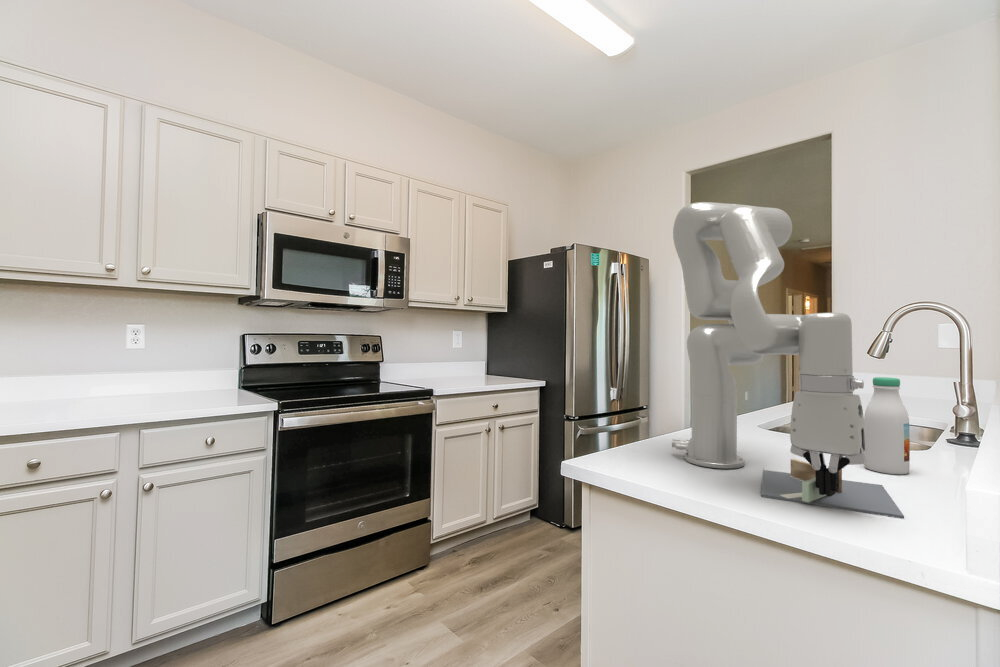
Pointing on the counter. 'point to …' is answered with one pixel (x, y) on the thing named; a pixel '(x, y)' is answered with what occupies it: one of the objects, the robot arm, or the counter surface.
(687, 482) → the counter surface
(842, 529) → the counter surface
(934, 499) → the counter surface
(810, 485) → the fence hinged panel
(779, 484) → the board
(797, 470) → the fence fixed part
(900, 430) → the milk bottle
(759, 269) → the robot arm
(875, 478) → the counter surface
